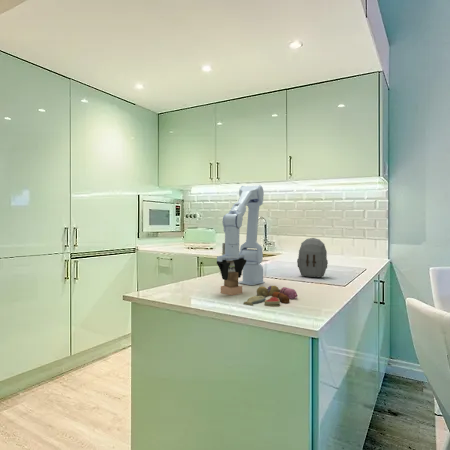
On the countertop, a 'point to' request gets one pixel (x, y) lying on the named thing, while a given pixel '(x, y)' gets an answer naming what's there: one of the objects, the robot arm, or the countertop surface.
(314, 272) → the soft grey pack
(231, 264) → the coffee box
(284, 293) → the toy food set
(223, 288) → the base block
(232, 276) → the walnut block
